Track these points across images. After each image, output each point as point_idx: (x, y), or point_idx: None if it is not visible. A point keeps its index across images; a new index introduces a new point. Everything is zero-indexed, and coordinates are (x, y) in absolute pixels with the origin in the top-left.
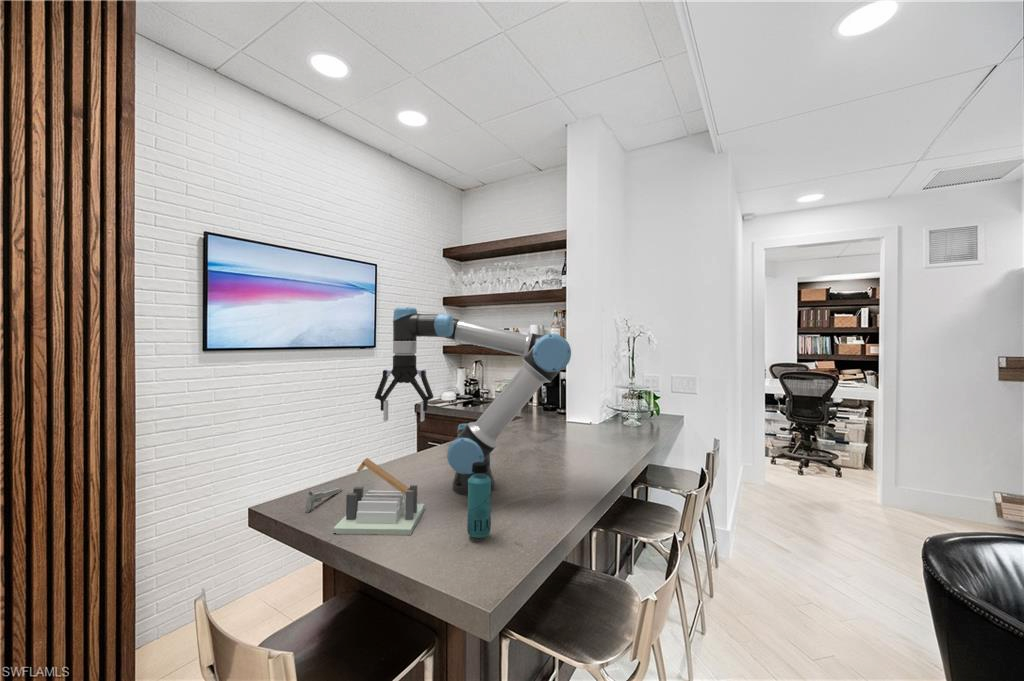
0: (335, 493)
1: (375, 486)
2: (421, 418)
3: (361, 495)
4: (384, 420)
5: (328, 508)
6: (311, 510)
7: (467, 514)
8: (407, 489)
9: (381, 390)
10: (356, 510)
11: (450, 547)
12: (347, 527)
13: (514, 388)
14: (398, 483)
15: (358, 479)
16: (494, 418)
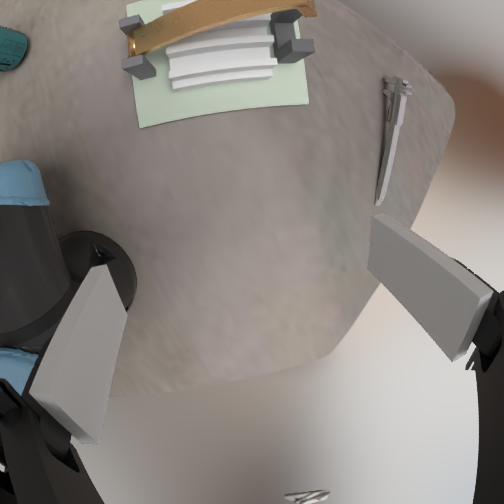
0: (380, 172)
1: (318, 237)
2: (92, 278)
3: (285, 43)
4: (382, 217)
5: (361, 99)
6: (384, 89)
7: (11, 41)
8: (143, 38)
9: None
10: (274, 21)
11: (54, 6)
12: None
13: None
14: (168, 24)
15: (364, 267)
16: None
